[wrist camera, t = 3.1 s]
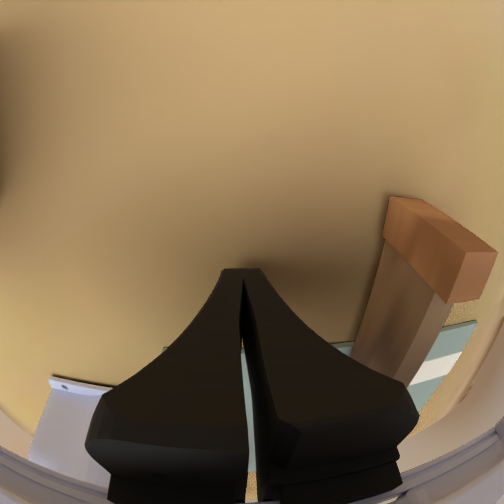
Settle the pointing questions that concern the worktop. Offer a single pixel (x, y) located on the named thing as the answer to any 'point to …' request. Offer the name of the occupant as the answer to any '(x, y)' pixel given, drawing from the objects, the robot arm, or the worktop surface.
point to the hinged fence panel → (418, 286)
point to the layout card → (419, 388)
